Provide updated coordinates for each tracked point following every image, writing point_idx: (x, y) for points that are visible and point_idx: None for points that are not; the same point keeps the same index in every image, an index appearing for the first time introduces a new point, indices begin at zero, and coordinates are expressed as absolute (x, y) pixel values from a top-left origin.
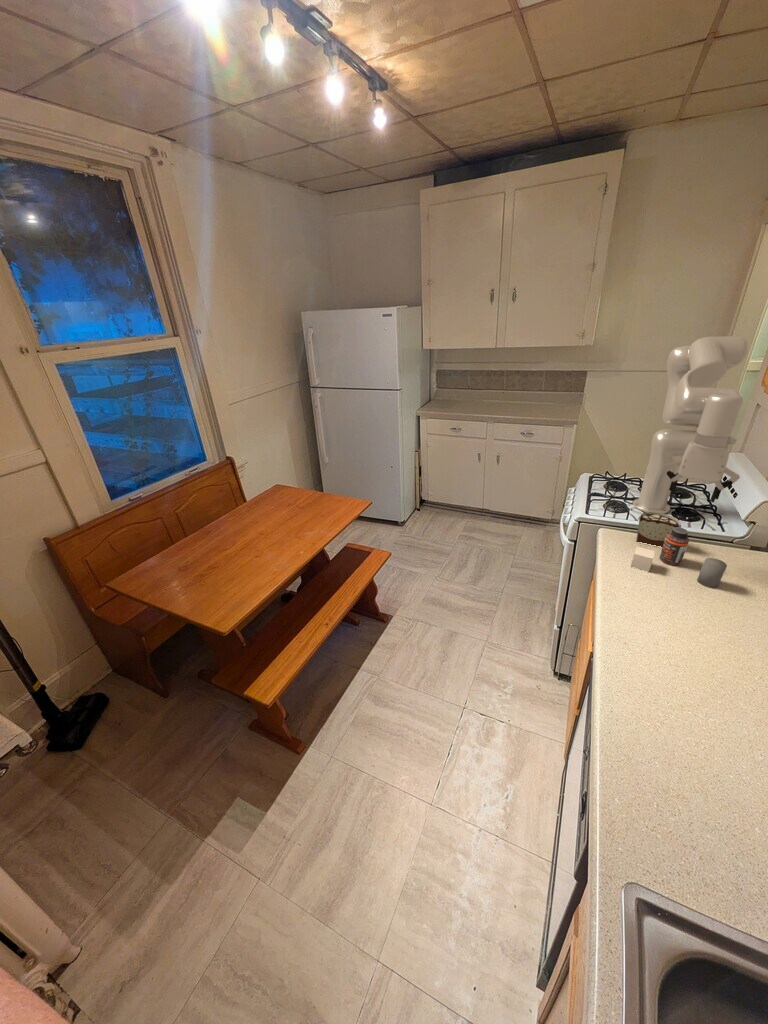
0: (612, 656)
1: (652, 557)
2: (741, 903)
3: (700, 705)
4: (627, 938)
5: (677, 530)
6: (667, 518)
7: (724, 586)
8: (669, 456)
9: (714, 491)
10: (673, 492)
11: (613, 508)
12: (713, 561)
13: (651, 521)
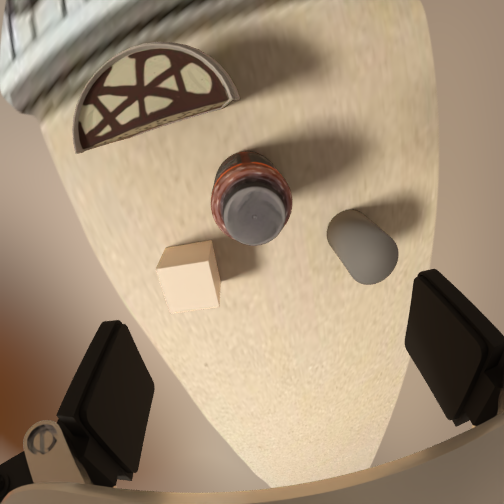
0: (255, 461)
1: (215, 301)
2: None
3: (339, 454)
4: None
5: (244, 229)
6: (167, 57)
7: (381, 222)
8: None
9: (443, 409)
10: (147, 400)
11: None
12: (368, 256)
13: (123, 133)
